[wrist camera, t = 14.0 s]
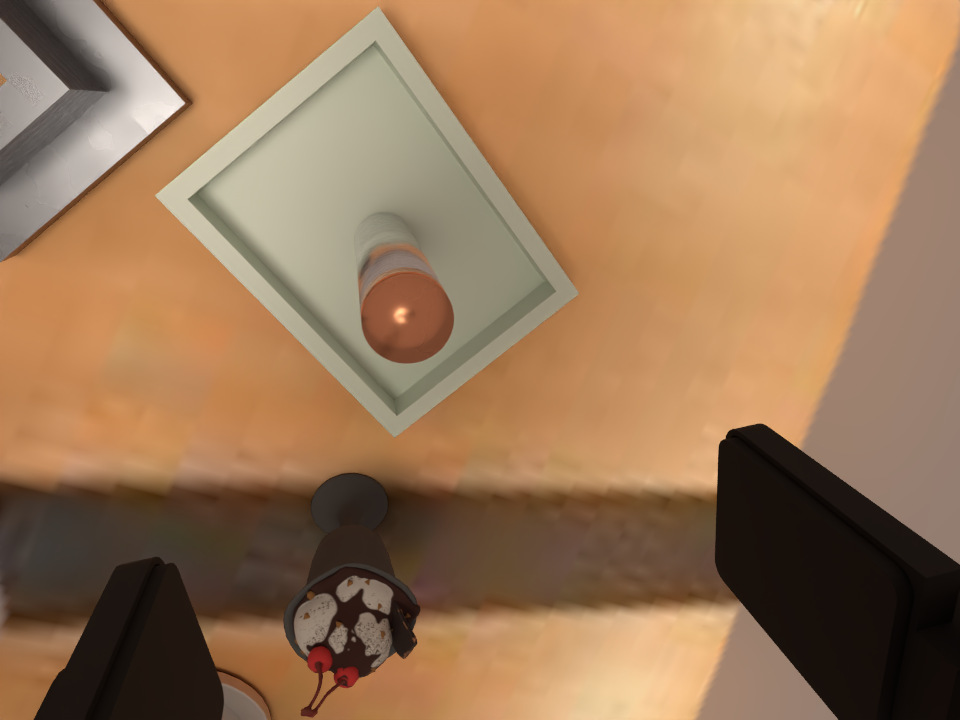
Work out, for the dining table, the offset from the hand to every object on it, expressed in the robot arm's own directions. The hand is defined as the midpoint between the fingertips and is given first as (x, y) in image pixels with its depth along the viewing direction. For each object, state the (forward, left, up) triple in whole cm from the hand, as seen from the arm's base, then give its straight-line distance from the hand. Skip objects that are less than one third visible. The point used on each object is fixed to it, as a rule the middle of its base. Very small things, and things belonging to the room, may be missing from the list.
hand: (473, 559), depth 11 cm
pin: (0, 0, -26) cm, 26 cm away
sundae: (-12, +13, -27) cm, 32 cm away
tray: (0, 0, -27) cm, 27 cm away
